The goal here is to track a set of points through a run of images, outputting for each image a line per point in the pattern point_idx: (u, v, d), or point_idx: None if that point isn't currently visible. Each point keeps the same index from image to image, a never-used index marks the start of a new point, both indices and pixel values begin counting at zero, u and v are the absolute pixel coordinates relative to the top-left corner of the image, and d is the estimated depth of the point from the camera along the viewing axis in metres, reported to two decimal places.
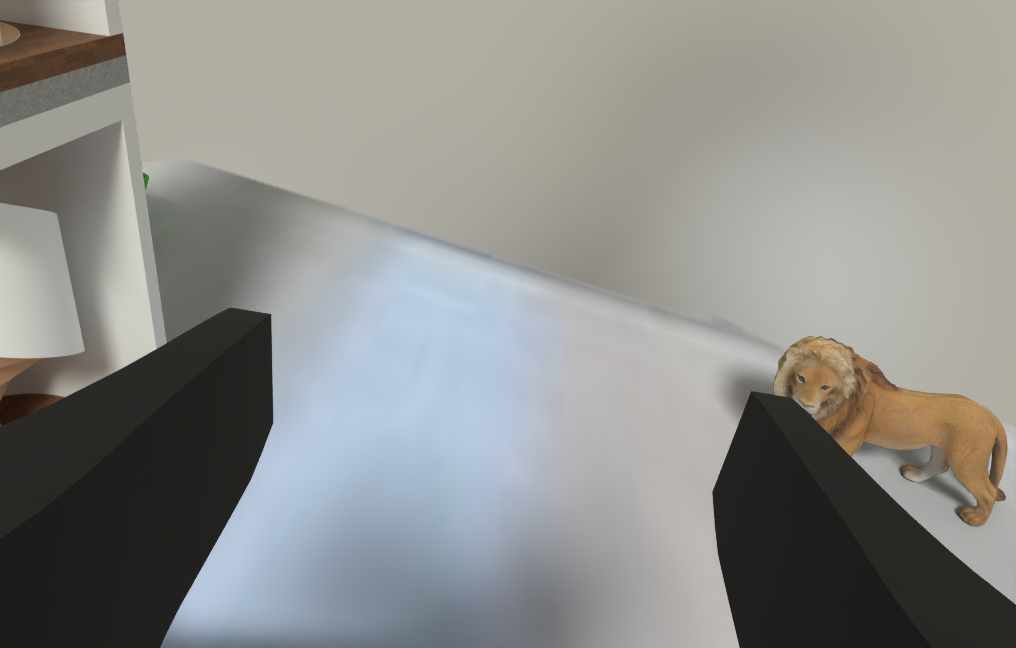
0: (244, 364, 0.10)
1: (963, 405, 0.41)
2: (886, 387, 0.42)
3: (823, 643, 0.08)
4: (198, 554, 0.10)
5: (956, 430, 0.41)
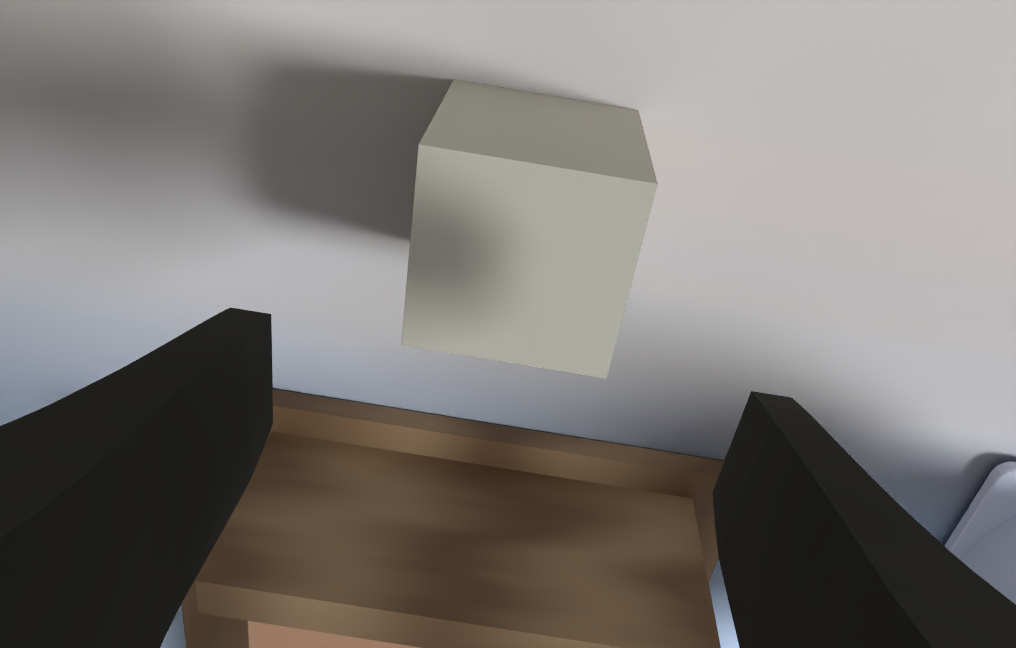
0: (244, 364, 0.10)
1: None
2: None
3: (823, 643, 0.08)
4: (198, 554, 0.10)
5: None
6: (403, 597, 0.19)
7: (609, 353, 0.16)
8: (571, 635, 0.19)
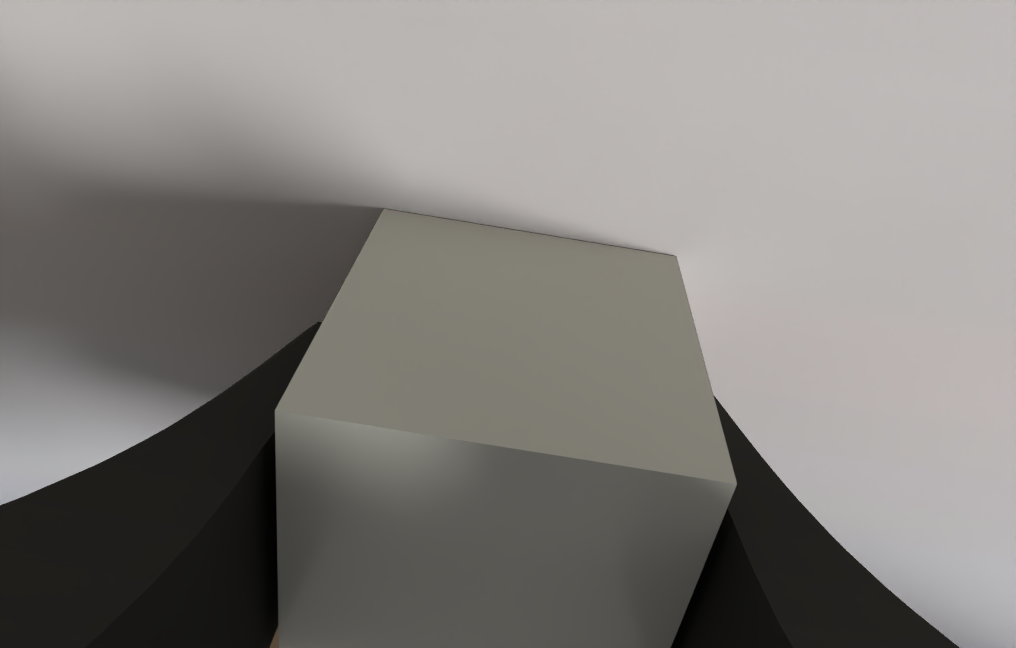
0: None
1: None
2: None
3: (704, 624, 0.08)
4: None
5: None
6: None
7: None
8: None
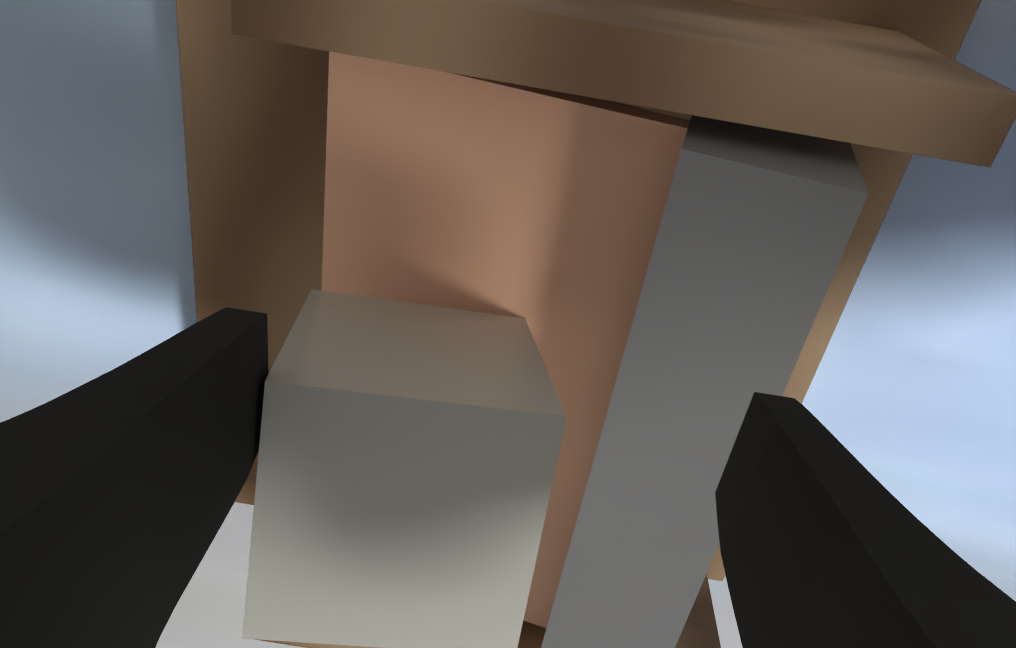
0: (240, 364, 0.10)
1: None
2: None
3: (827, 644, 0.08)
4: (194, 554, 0.10)
5: None
6: (541, 6, 0.13)
7: (517, 624, 0.13)
8: None
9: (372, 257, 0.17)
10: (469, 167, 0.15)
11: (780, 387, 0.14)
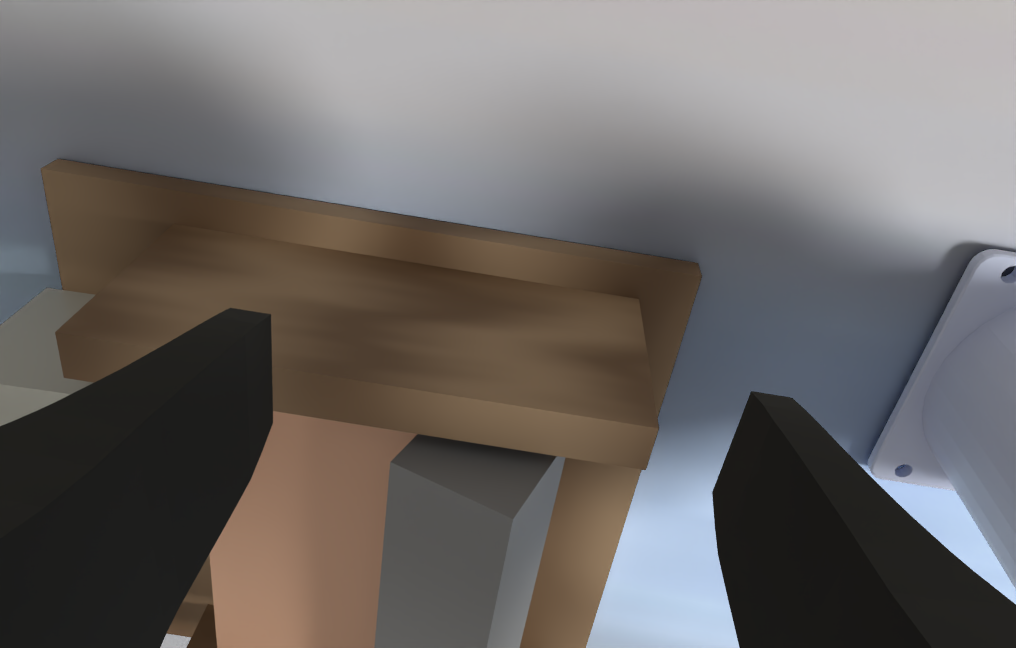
0: (244, 364, 0.10)
1: None
2: None
3: (823, 643, 0.08)
4: (198, 554, 0.10)
5: None
6: (295, 357, 0.17)
7: None
8: (486, 398, 0.17)
9: None
10: (286, 424, 0.20)
11: (486, 636, 0.18)
